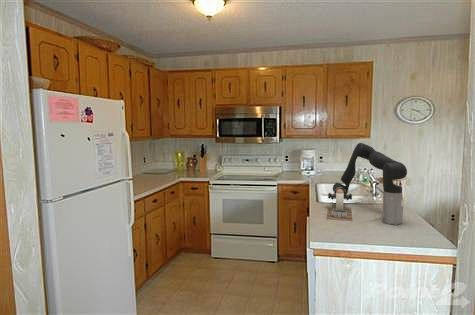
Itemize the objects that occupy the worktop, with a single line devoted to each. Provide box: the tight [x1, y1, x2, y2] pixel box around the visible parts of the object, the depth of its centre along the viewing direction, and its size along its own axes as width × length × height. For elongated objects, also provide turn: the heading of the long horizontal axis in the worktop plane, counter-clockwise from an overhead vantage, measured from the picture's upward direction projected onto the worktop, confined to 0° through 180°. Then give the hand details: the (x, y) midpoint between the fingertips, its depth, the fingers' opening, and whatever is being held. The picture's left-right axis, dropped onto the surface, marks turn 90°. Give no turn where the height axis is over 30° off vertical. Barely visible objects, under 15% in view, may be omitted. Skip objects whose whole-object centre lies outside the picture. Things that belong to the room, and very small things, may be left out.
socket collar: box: [332, 208, 347, 218], centre depth 187 cm, size 8×8×3 cm
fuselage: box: [335, 189, 345, 210], centre depth 195 cm, size 4×4×14 cm
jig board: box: [325, 207, 353, 222], centre depth 191 cm, size 26×14×1 cm, turn 162°
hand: (339, 198), depth 197 cm, fingers open, 8 cm apart
